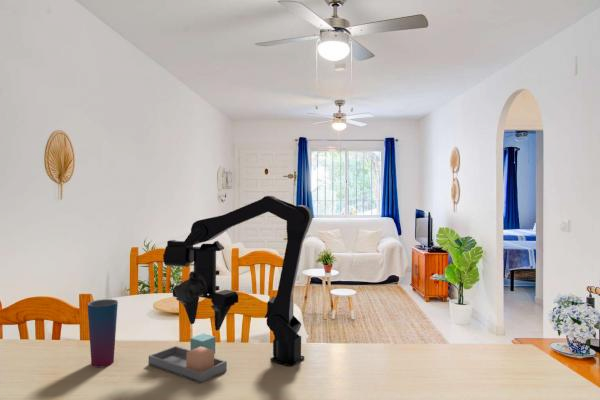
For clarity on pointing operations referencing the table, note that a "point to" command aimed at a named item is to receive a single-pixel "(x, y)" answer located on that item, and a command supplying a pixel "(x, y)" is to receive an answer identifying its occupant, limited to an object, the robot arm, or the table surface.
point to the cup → (102, 331)
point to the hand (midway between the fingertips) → (204, 326)
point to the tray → (184, 364)
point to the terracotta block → (200, 359)
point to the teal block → (203, 342)
